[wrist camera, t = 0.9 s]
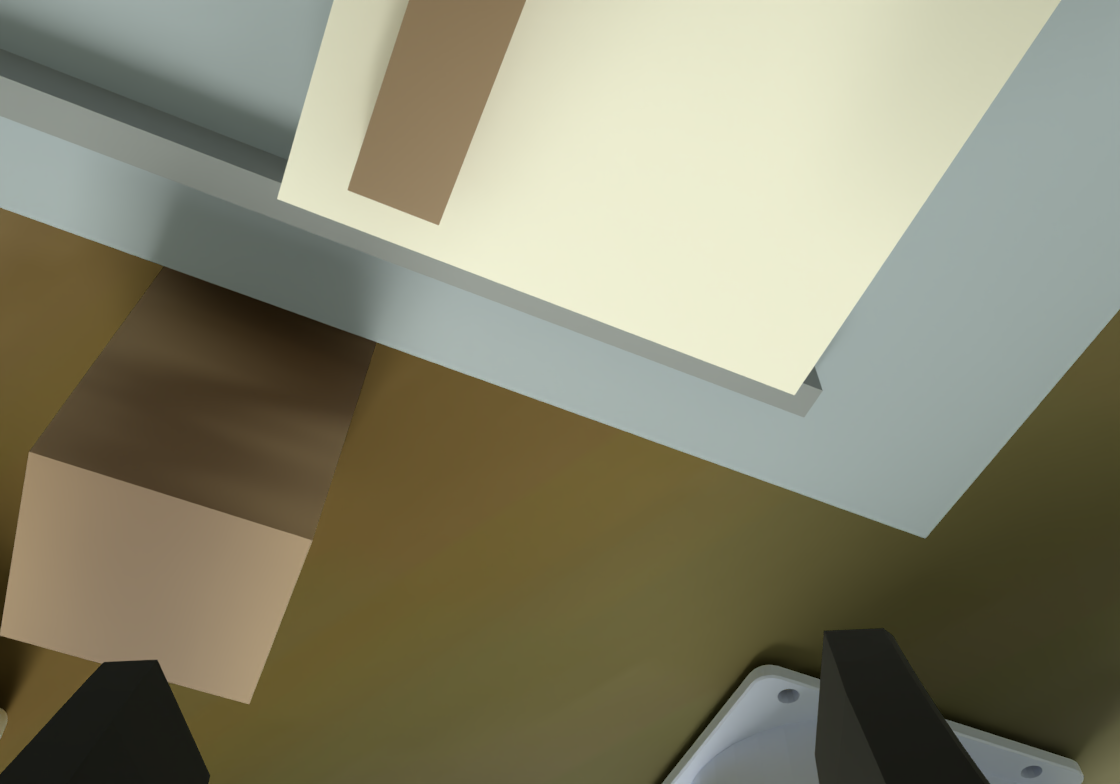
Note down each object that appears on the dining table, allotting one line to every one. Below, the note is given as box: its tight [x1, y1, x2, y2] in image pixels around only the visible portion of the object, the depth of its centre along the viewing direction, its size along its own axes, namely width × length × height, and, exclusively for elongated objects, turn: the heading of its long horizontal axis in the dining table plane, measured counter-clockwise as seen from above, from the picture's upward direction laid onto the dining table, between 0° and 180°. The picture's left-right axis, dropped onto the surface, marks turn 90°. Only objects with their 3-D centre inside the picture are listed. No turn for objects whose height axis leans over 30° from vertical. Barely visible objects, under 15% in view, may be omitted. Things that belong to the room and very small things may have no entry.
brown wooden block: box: [0, 266, 376, 704], centre depth 18 cm, size 4×4×6 cm
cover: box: [277, 0, 1061, 395], centre depth 13 cm, size 8×8×3 cm
